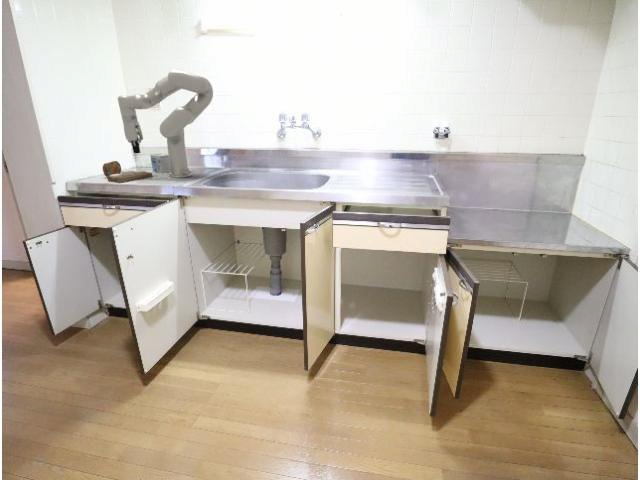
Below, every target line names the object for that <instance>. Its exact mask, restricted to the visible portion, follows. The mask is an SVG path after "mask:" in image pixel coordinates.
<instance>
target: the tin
mask: <svg viewBox="0 0 640 480" xmlns="http://www.w3.org/2000/svg"><path fill="white" fill-rule="evenodd" d="M121 171H122V166H121V164H120V162H119V161H117V160H114V161H113V160H112V161H110V162H106V163H104V164H103V165H102V172H103V175H104V176H105V177H106V178H107V177H108V176H110V175H113V174H122V173H121Z"/></svg>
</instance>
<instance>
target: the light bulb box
mask: <svg viewBox="0 0 640 480" xmlns="http://www.w3.org/2000/svg"><path fill="white" fill-rule="evenodd" d="M150 161H151V168H152V172H154V173H158V174H168V173H171V167H170V161H169V154H167V153H166V154H164V153H155V154H150Z"/></svg>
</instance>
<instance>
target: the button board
mask: <svg viewBox="0 0 640 480" xmlns="http://www.w3.org/2000/svg"><path fill="white" fill-rule="evenodd" d="M121 175H122V173H121ZM106 178H107V182H110V181H111V182H110V183H116V182H117V184H121V183H127V182H133V181H134V182H135V181H139V180H144V179H149V178H150V179H151V178H153V173H152V172H147V171H145V172H144V173H134V174H132V175H122V176H120V177H110V176H108V177H106Z"/></svg>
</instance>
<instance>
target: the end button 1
mask: <svg viewBox="0 0 640 480" xmlns="http://www.w3.org/2000/svg"><path fill="white" fill-rule="evenodd" d="M121 174H122V173H121ZM121 174H113V175H110V177H120V176H122V175H121Z"/></svg>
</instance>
